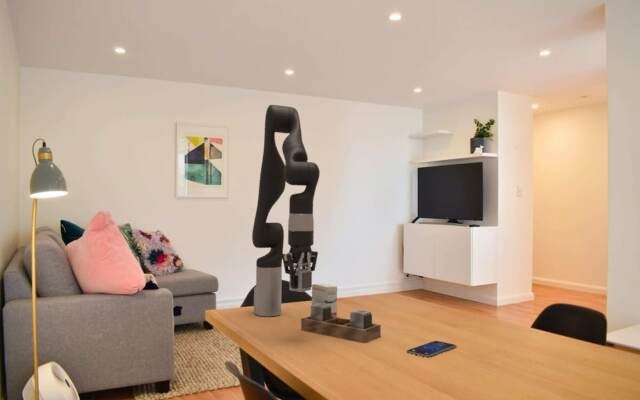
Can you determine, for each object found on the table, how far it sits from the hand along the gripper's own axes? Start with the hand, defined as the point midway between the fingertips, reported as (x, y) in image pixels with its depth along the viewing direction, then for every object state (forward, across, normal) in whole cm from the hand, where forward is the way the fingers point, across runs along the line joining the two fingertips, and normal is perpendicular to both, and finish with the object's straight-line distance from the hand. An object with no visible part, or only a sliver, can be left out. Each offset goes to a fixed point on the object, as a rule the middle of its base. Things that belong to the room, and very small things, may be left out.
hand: (300, 287), depth 138 cm
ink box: (+15, -25, -10) cm, 31 cm away
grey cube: (+1, 0, 0) cm, 1 cm away
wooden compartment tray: (+15, -13, +5) cm, 21 cm away
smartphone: (+16, -15, +35) cm, 41 cm away
